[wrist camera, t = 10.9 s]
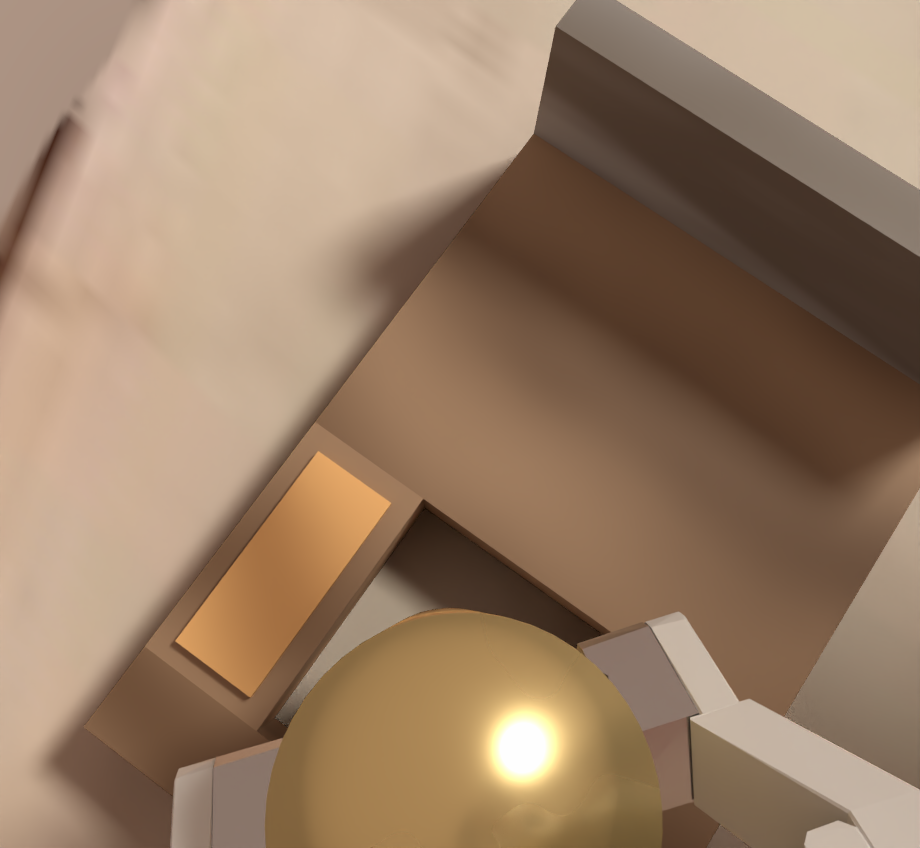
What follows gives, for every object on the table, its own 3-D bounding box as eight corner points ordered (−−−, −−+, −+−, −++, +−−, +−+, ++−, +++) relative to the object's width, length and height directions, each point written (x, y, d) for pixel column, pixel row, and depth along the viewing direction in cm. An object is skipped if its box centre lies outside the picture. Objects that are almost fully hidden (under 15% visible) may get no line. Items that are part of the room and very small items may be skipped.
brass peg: (426, 567, 17) (419, 537, 9) (593, 687, 17) (736, 763, 9) (303, 741, 16) (182, 870, 8) (475, 871, 16) (516, 1132, 8)
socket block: (551, 139, 23) (589, -17, 17) (939, 392, 22) (1122, 317, 16) (118, 714, 20) (-17, 763, 14) (545, 1044, 19) (594, 1248, 13)
